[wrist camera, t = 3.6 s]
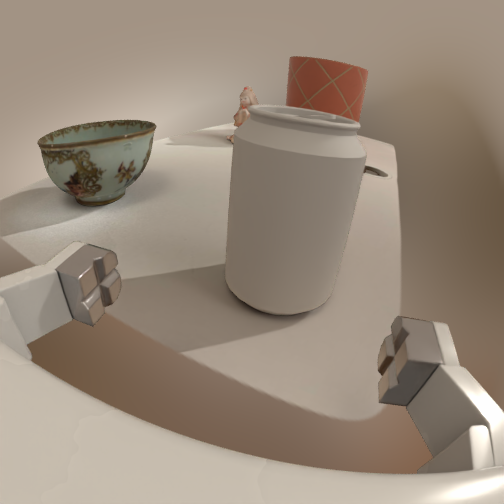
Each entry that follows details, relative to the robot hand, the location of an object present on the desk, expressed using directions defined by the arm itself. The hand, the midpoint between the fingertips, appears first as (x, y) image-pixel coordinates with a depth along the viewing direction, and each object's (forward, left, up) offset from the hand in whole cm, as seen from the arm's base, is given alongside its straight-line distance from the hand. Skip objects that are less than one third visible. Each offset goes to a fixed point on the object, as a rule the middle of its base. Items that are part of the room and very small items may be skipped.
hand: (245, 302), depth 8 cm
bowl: (+28, -10, -8) cm, 31 cm away
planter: (+27, -67, -8) cm, 73 cm away
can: (+4, -10, -8) cm, 14 cm away
